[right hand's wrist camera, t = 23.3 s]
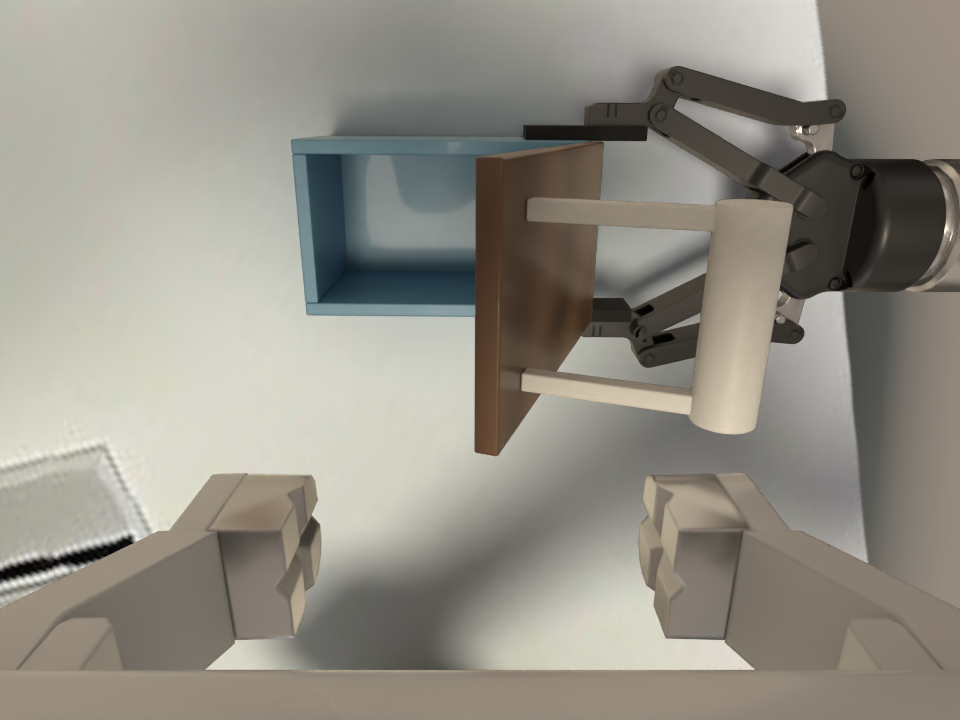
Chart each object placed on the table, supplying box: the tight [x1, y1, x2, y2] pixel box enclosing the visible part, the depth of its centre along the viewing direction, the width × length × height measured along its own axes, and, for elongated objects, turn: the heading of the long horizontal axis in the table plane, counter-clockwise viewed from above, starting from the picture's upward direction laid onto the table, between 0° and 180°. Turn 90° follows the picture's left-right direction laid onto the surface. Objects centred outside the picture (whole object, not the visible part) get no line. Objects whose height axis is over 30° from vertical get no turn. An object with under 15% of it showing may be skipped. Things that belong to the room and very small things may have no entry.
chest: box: [291, 135, 593, 317], centre depth 39 cm, size 16×10×9 cm, turn 90°
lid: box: [475, 142, 793, 456], centre depth 26 cm, size 17×10×9 cm
